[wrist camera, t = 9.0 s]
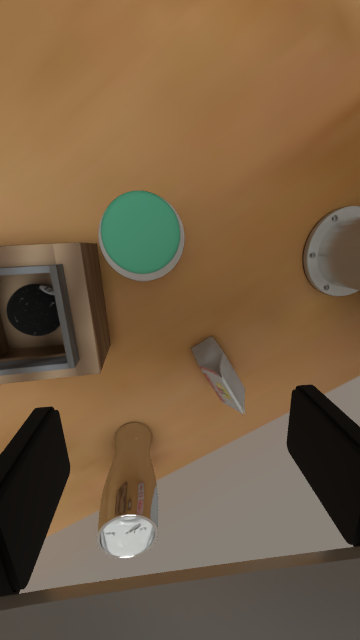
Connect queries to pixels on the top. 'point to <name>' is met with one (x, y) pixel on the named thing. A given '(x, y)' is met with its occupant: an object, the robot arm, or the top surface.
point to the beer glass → (129, 497)
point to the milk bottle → (141, 236)
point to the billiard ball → (33, 310)
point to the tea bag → (220, 373)
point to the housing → (72, 305)
